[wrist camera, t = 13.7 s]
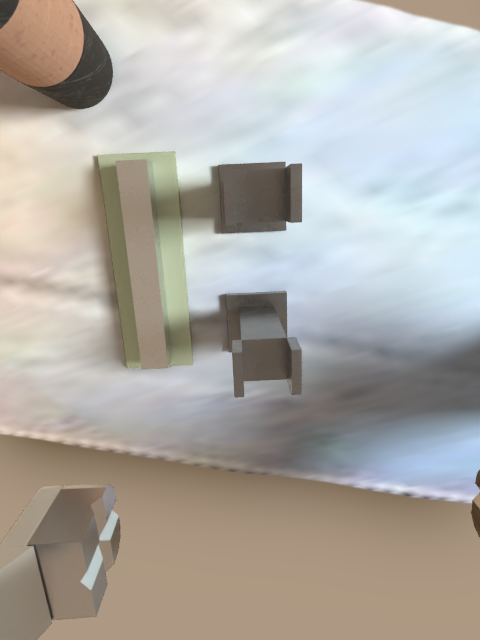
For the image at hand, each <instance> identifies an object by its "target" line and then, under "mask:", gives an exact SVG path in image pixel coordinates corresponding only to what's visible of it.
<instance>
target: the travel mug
mask: <svg viewBox="0 0 480 640" xmlns="http://www.w3.org/2000/svg"><path fill="white" fill-rule="evenodd" d="M0 70H1V71H3V72H4V73H6V74H8V75H9V76H11V77H13V78H14V79H16V80H18V81H20V82H21V83H23V84H25V85H27V86H29V87H31V88H33V89H35V90H37V91H39V92H41V93H43V94H45V95H47V96H49V97H51V98H53V99H55V100H57V101H59V102H61V103H63V104H65V105H67V106H70V107H73V108H89V107H92V106H94V105H96V104H98V103H99V102H100V101H102V100H103V99H104V97H105V96H106V95H107V93H108V91H109V89H110V87H111V83H112V78H113V69H112V62H111V59H110V55H109V53H108V51H107V49H106V47H105V46H104V44H103V42H102V41H101V39H100V38H99V37H98V35H97V34H96V32H95V31H94V30H93V28H92V27H91V25H90V24H89V22H88V21H87V20H86V18H85V17H84V15H83V14H82V13H81V11H80V10H79V8H78V7H77V6H76V4H75V3H74V1H73V0H0Z"/></svg>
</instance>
